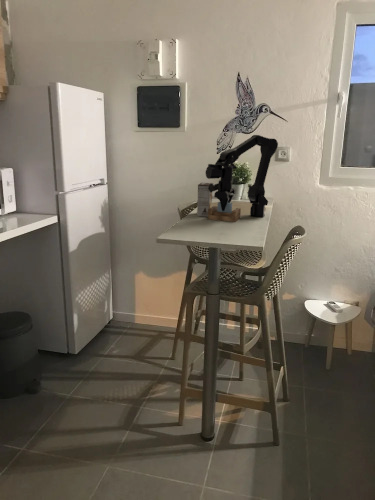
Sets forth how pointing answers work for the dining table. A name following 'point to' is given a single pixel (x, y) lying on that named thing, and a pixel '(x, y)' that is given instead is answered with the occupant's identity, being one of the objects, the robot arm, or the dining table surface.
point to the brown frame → (223, 214)
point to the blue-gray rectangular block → (227, 209)
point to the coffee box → (204, 199)
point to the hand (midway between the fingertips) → (224, 209)
